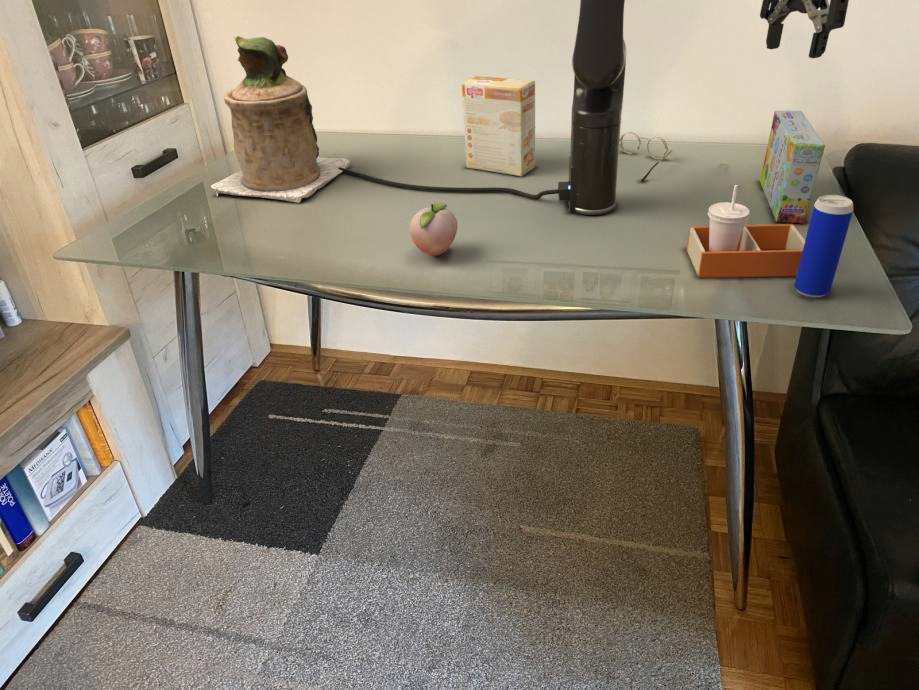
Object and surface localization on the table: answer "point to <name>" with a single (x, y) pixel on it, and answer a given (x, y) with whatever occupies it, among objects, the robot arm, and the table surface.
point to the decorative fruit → (433, 229)
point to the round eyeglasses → (648, 150)
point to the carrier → (748, 252)
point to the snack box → (791, 165)
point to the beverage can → (823, 245)
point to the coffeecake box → (499, 124)
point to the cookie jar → (273, 130)
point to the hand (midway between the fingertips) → (793, 52)
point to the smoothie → (726, 224)
